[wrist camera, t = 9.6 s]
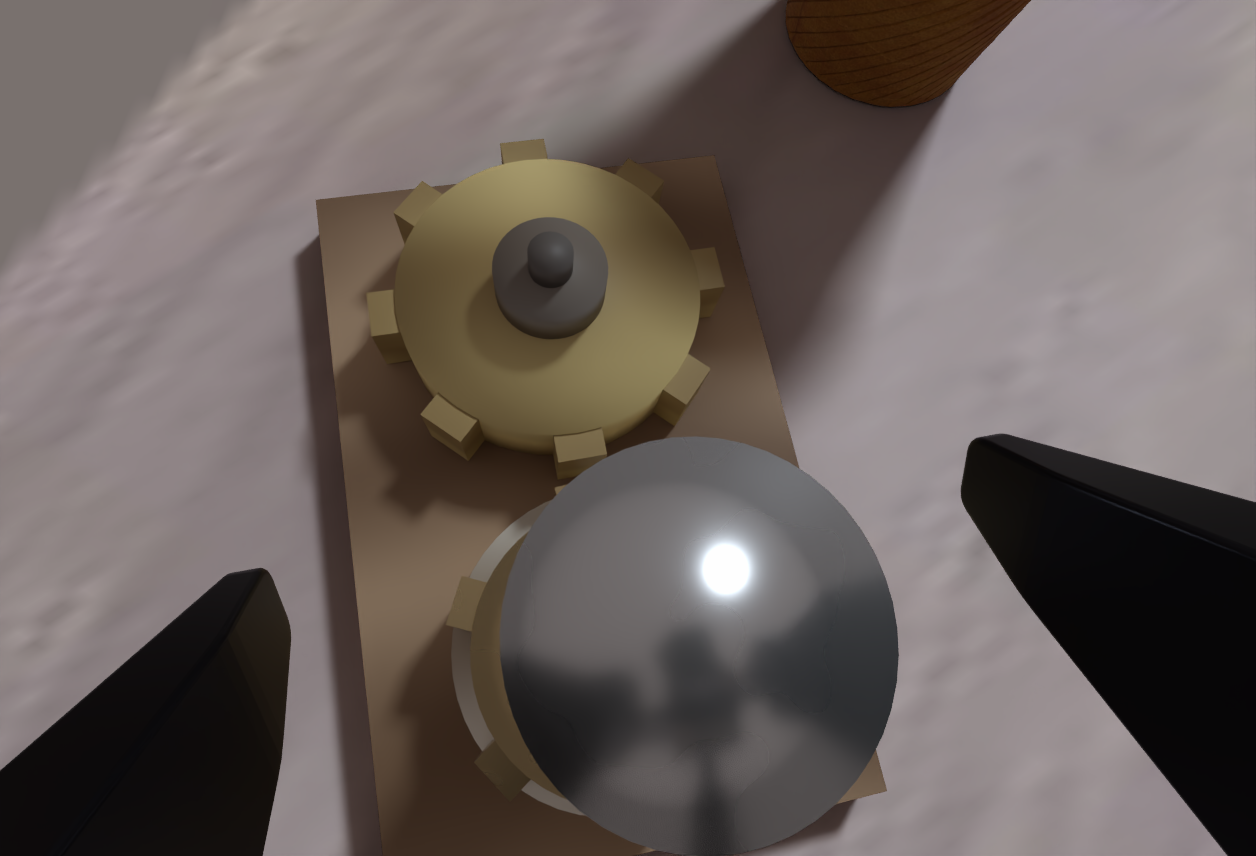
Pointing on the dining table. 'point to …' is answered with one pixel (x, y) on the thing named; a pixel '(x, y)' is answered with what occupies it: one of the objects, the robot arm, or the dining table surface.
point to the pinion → (685, 648)
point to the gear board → (467, 509)
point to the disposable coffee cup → (894, 43)
